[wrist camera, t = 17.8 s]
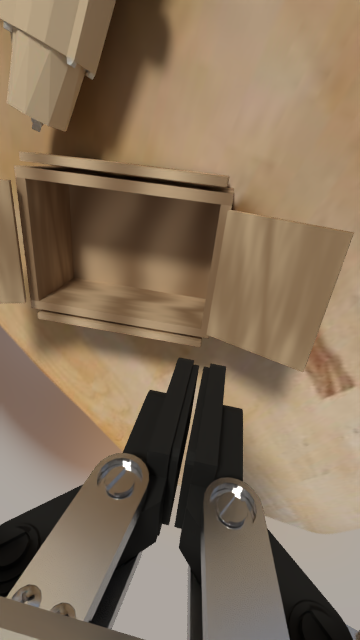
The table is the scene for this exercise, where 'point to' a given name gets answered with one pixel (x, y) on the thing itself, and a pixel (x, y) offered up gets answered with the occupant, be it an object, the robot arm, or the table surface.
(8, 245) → the flap
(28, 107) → the butterfly valve
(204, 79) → the table surface
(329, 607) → the robot arm
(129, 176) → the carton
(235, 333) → the flap
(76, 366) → the table surface
